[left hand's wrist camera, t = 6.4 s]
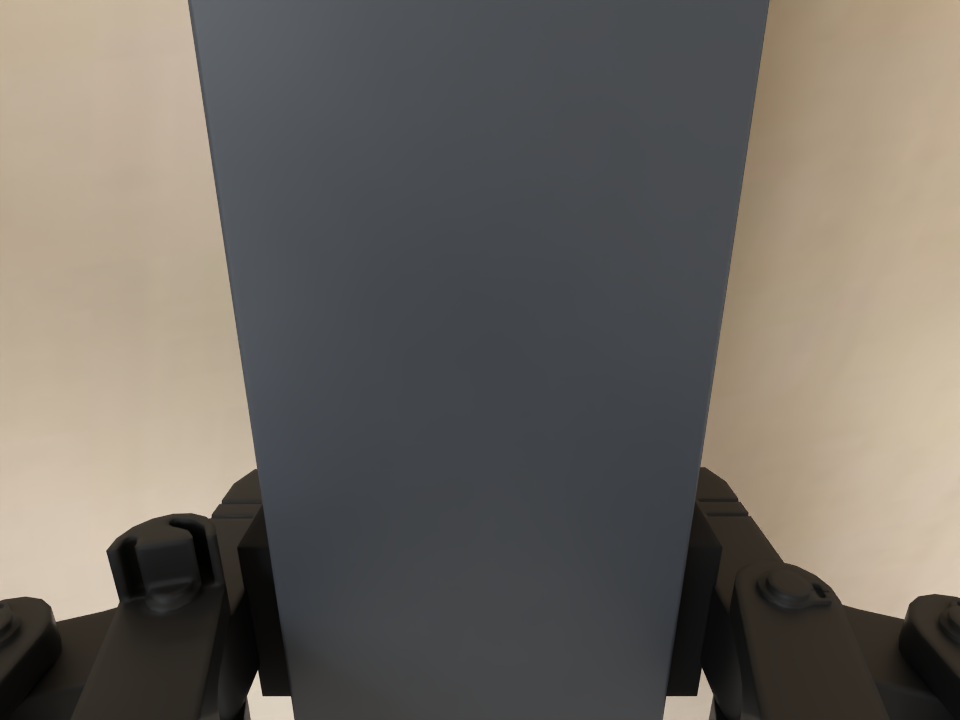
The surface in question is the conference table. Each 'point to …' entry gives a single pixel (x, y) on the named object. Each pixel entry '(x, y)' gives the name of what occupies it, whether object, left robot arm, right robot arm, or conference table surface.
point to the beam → (478, 333)
